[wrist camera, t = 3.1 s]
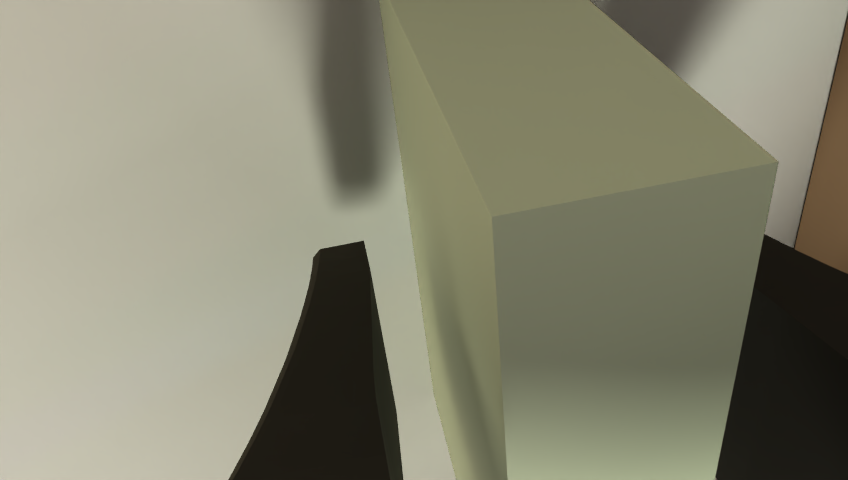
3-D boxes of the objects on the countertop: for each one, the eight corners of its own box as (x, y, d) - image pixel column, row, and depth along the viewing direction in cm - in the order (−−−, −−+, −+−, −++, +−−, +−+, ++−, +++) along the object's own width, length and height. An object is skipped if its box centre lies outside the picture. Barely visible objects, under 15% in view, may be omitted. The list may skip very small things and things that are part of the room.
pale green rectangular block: (533, 369, 15) (671, 694, 10) (433, 391, 14) (522, 731, 10) (523, -56, 10) (778, 161, 5) (373, -33, 10) (491, 215, 5)
